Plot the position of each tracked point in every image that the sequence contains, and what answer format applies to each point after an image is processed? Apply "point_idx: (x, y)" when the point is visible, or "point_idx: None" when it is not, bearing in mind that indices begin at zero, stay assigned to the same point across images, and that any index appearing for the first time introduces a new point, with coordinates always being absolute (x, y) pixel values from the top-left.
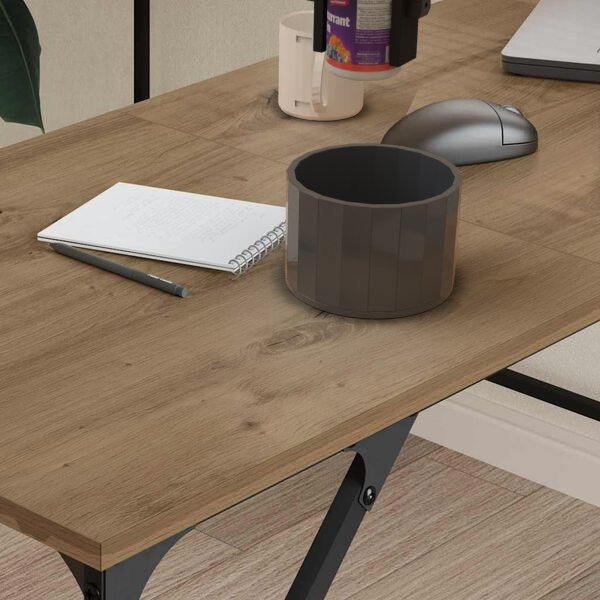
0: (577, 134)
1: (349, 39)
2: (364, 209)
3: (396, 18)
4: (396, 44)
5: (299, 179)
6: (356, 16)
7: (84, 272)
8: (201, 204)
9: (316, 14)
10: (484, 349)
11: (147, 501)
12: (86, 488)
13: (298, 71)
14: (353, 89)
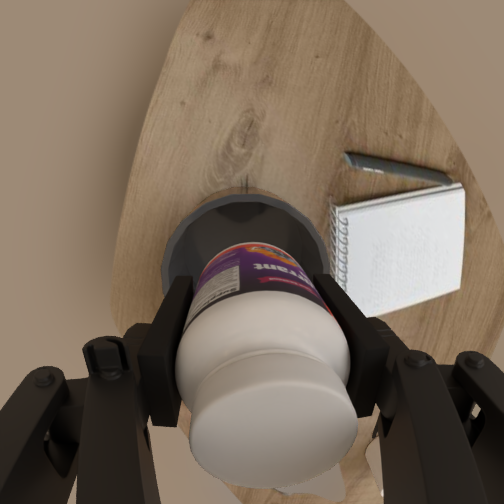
0: (236, 485)
1: (251, 257)
2: (211, 200)
3: (170, 307)
4: (175, 287)
5: (318, 261)
6: (239, 273)
7: (416, 154)
8: (406, 291)
9: (342, 295)
10: (125, 202)
11: None
12: None
13: None
14: (372, 458)
